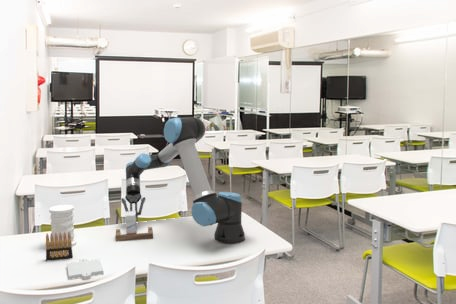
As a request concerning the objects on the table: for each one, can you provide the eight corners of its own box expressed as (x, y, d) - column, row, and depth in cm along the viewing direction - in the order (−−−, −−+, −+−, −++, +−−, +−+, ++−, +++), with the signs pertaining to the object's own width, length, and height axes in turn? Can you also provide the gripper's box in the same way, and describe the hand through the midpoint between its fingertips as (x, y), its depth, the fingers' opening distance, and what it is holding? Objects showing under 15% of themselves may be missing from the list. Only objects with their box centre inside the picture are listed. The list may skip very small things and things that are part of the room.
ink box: (136, 238, 213) (135, 215, 212) (125, 239, 212) (125, 215, 211) (137, 232, 222) (136, 210, 220) (126, 233, 221) (126, 210, 219)
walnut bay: (153, 238, 213) (153, 233, 213) (115, 241, 209) (115, 236, 209) (152, 231, 224) (152, 226, 223) (116, 233, 220) (116, 229, 220)
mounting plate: (66, 265, 181) (66, 261, 181) (98, 260, 186) (98, 256, 186) (69, 283, 165) (69, 278, 165) (104, 277, 170) (104, 272, 170)
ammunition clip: (46, 261, 185) (44, 234, 183) (46, 259, 187) (45, 232, 185) (72, 258, 188) (71, 231, 186) (72, 256, 190) (71, 230, 188)
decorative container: (45, 244, 204) (43, 207, 202) (69, 238, 213) (67, 203, 210) (57, 250, 196) (55, 212, 194) (80, 244, 205) (79, 207, 202)
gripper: (145, 190, 240) (146, 229, 226) (121, 192, 237) (121, 230, 224) (145, 183, 234) (147, 222, 221) (120, 184, 232) (120, 224, 218)
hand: (134, 226), depth 222 cm, fingers closed
